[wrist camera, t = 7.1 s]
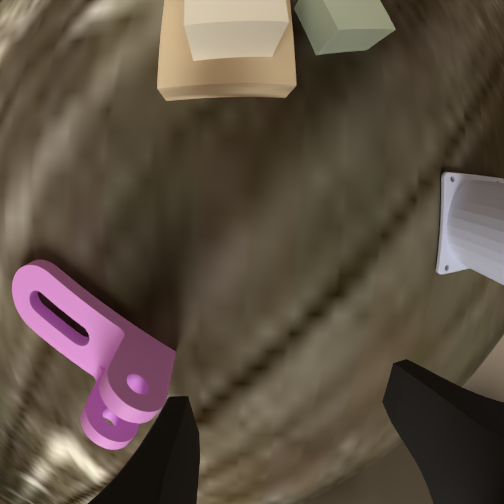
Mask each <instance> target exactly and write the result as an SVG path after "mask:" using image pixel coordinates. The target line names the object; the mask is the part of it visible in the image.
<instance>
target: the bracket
mask: <svg viewBox="0 0 504 504" xmlns="http://www.w3.org/2000/svg"><path fill="white" fill-rule="evenodd" d="M38 291H39V292H41V293H42V294H43V295H44V296H45V297H47V298H48V299H49V300H50V301H51V302H52V303H54V304H55V305H56V306H57V307H58V308H60V309H61V310H62V311H63V312H65V313H66V314H67V315H68V316H70V317H71V318H72V319H73V320H75V321H76V322H77V323H79V324H80V325H81V326H83V327H84V328H85V329H86V331H87V332H88V334H89V337H85V336H83V335H81V334H80V333H78V332H77V331H76V330H74V329H73V328H72V327H70V326H69V325H68V324H67V323H65V322H64V321H63V320H62V319H60V318H59V317H58V316H57V315H55V314H54V313H53V312H52V311H51V310H49V309H48V308H47V307H46V306H45V305H44V304H43V303H42V302H41V301H40V299H39V296H38ZM12 294H13V299H14V303H15V306H16V308H17V311H18V313H19V314H20V316H21V318H22V319H23V320H24V322H25V323H26V324H27V325H28V326H29V327H30V328H31V329H32V330H33V331H35V332H36V333H37V334H38V335H39V336H40V337H42V338H43V339H44V340H45V341H47V342H48V343H49V344H50V345H51V346H53V347H54V348H55V349H57V350H58V351H59V352H60V353H62V354H63V355H64V356H66V357H67V358H68V359H70V360H71V361H72V362H74V363H75V364H77V365H78V366H79V367H81V368H82V369H84V370H85V371H87V372H88V373H90V374H91V375H92V376H94V378H95V380H96V383H95V385H94V387H93V389H92V391H91V393H90V395H89V397H88V399H87V402H86V404H85V406H84V408H83V410H82V412H81V416H80V421H81V425H82V428H83V430H84V432H85V434H86V435H87V436H88V437H89V438H90V439H91V440H92V441H93V442H94V443H96V444H97V445H99V446H101V447H103V448H106V449H111V450H116V449H120V448H123V447H124V446H126V445H127V444H128V443H129V442H130V441H131V440H132V439H133V438H134V437H135V435H136V433H137V431H138V427H139V423H145V422H148V421H149V420H151V419H152V418H153V417H154V416H155V415H156V414H157V413H158V411H159V410H160V409H161V408H162V407H163V406H164V405H165V403H166V400H167V394H168V389H169V384H170V379H171V374H172V369H173V364H174V359H175V355H176V351H174V350H172V349H171V348H169V347H168V346H166V345H164V344H163V343H161V342H159V341H158V340H156V339H155V338H153V337H152V336H150V335H149V334H147V333H145V332H144V331H142V330H141V329H139V328H138V327H136V326H135V325H133V324H132V323H130V322H129V321H128V320H126V319H125V318H123V317H122V316H120V315H119V314H118V313H116V312H115V311H113V310H112V309H111V308H109V307H108V306H106V305H105V304H104V303H102V302H101V301H100V300H98V299H97V298H96V297H94V296H93V295H92V294H90V293H89V292H88V291H87V290H85V289H84V288H83V287H81V286H80V285H79V284H78V283H76V282H75V281H74V280H73V279H72V278H70V277H69V276H68V275H67V274H65V273H64V272H63V271H62V270H61V269H60V268H58V267H57V266H56V265H54V264H53V263H51V262H49V261H46V260H34V261H32V262H30V263H28V264H26V265H25V266H23V267H21V268H20V269H19V270H18V271H17V272H16V274H15V276H14V279H13V283H12ZM103 417H104V418H107V419H109V420H110V421H111V422H112V423H113V424H114V426H111V425H109V424H108V423H107V422H106V421H105V420H104V418H103Z"/></svg>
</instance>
